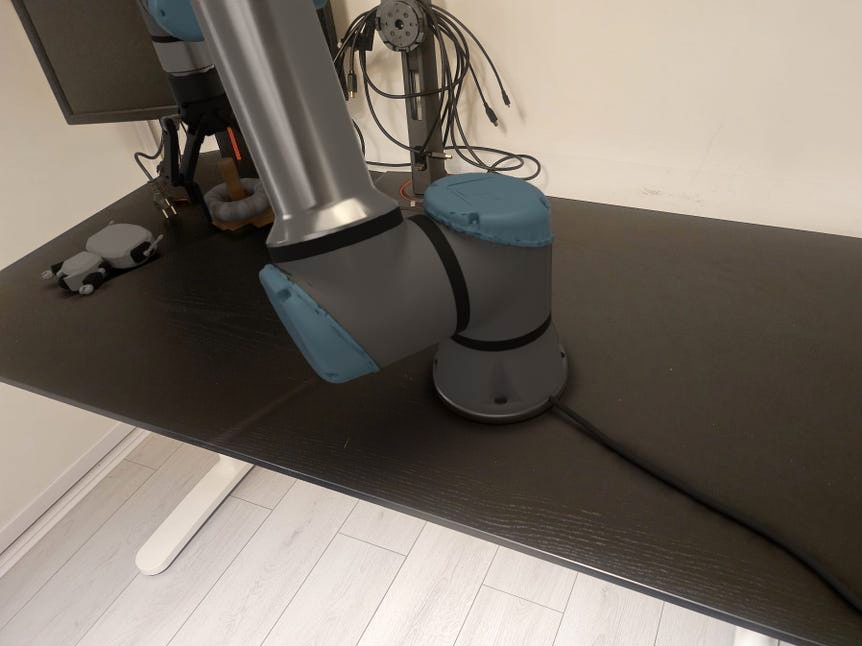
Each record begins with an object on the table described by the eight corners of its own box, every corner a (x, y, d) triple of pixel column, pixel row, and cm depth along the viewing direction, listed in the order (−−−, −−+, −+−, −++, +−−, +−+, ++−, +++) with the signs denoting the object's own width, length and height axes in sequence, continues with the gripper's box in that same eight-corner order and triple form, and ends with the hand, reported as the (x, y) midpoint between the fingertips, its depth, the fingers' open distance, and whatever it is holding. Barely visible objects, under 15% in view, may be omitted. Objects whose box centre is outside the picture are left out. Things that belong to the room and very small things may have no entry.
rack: (282, 217, 104) (264, 157, 97) (235, 238, 99) (211, 177, 93) (256, 202, 109) (236, 144, 102) (209, 222, 105) (186, 163, 98)
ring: (290, 204, 102) (285, 187, 100) (226, 231, 97) (220, 214, 95) (255, 185, 109) (250, 169, 107) (194, 210, 103) (187, 194, 101)
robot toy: (96, 311, 88) (177, 253, 97) (78, 286, 85) (163, 229, 93) (47, 291, 93) (128, 238, 102) (28, 267, 90) (113, 214, 98)
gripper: (252, 43, 96) (290, 174, 111) (98, 87, 84) (163, 227, 99) (277, 50, 92) (313, 185, 106) (118, 97, 80) (183, 242, 95)
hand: (241, 205), depth 103 cm, fingers closed on ring, 12 cm apart
